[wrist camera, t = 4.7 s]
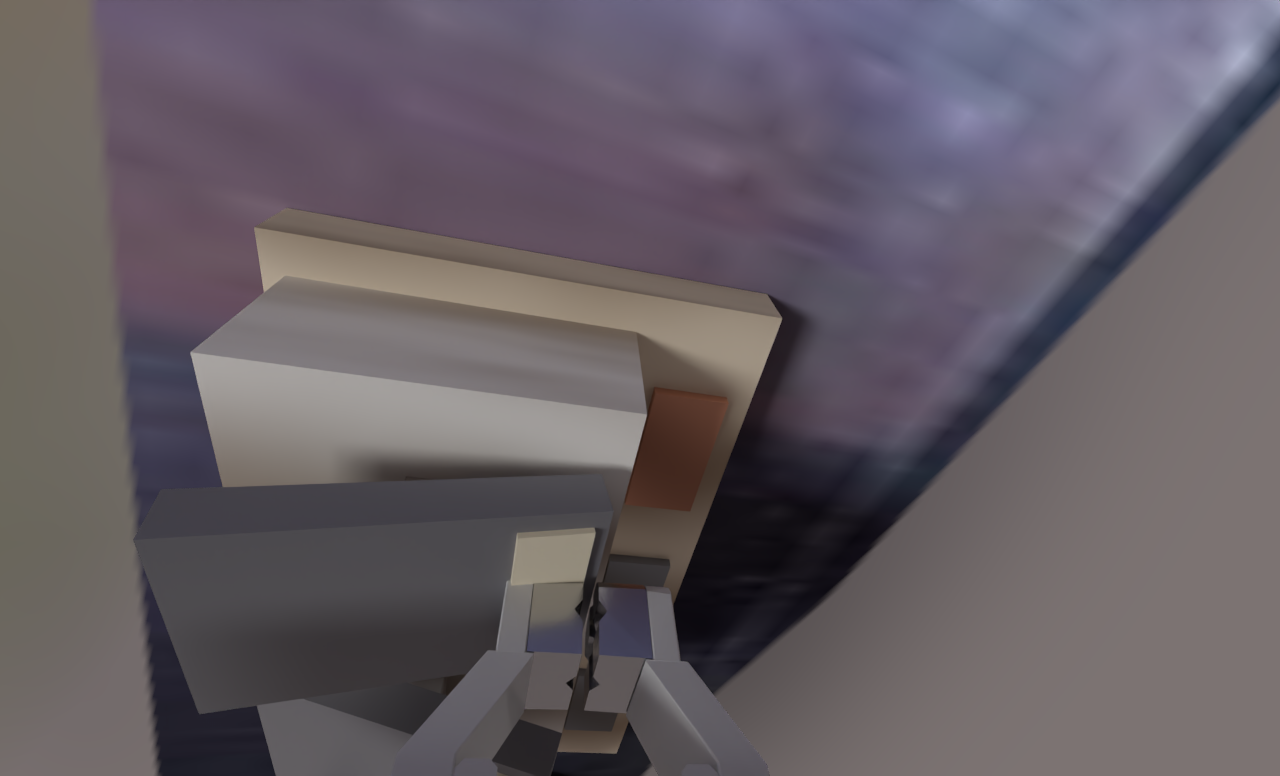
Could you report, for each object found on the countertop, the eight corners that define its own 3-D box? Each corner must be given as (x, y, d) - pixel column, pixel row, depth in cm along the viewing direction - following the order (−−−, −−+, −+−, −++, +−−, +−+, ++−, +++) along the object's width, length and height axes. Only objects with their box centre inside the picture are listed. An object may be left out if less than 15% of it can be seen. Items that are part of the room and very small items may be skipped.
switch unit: (287, 207, 13) (104, 317, 8) (766, 294, 15) (848, 422, 10) (346, 707, 25) (284, 877, 20) (615, 718, 27) (619, 875, 22)
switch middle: (283, 642, 13) (245, 686, 12) (562, 733, 13) (546, 785, 12) (302, 739, 16) (272, 783, 15) (539, 818, 15) (524, 868, 14)
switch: (161, 489, 9) (129, 547, 8) (601, 473, 11) (615, 516, 10) (216, 662, 11) (196, 722, 10) (567, 618, 13) (577, 662, 13)
